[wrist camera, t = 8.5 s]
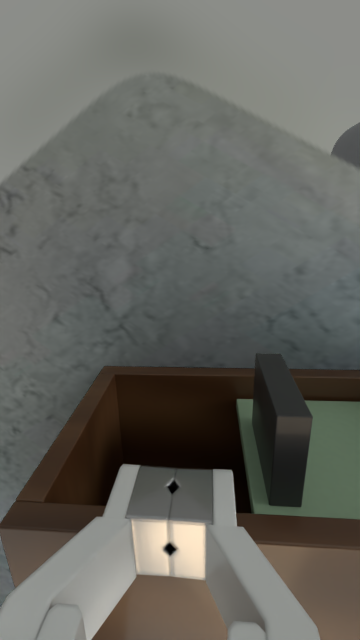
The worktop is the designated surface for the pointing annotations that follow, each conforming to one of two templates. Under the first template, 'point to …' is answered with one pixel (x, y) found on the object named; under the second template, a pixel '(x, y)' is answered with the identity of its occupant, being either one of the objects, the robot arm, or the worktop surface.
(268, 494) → the sliding door
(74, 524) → the brown wooden box
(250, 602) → the robot arm
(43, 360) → the worktop surface
